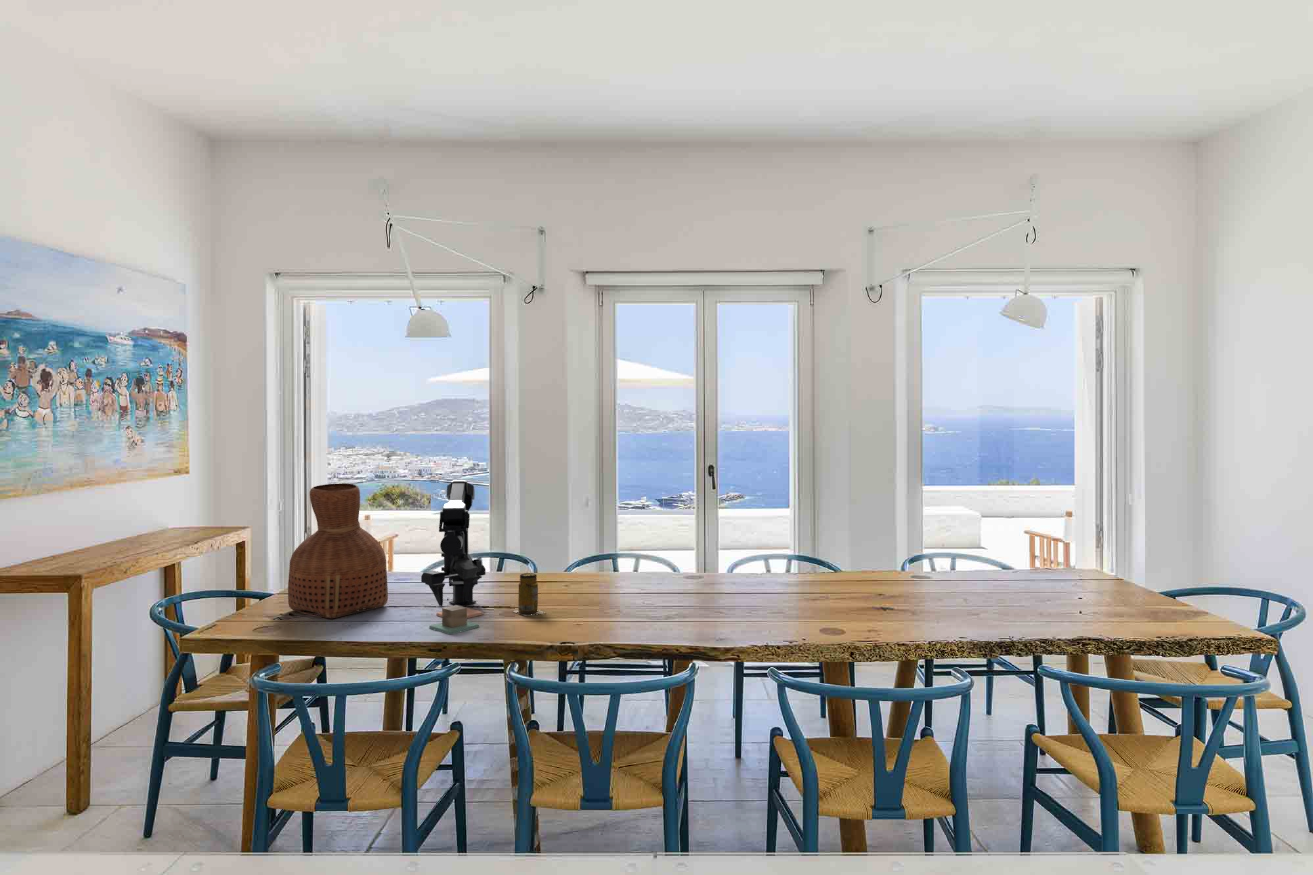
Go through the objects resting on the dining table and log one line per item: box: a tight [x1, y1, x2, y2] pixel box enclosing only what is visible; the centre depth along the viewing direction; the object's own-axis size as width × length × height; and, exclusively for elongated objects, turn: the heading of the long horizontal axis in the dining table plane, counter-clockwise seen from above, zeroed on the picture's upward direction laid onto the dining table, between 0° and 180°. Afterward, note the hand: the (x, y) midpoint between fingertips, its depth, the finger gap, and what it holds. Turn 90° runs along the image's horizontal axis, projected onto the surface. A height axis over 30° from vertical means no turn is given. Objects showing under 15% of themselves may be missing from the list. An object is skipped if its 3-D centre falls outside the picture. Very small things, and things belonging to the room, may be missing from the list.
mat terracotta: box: [435, 607, 484, 619], centre depth 237 cm, size 10×10×1 cm
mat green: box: [429, 620, 480, 635], centre depth 222 cm, size 10×10×1 cm
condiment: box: [512, 572, 546, 617], centre depth 240 cm, size 7×8×12 cm
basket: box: [287, 482, 389, 619], centre depth 244 cm, size 28×28×40 cm
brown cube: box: [441, 605, 468, 628], centre depth 222 cm, size 5×5×5 cm
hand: (454, 603), depth 222 cm, fingers open, 9 cm apart
